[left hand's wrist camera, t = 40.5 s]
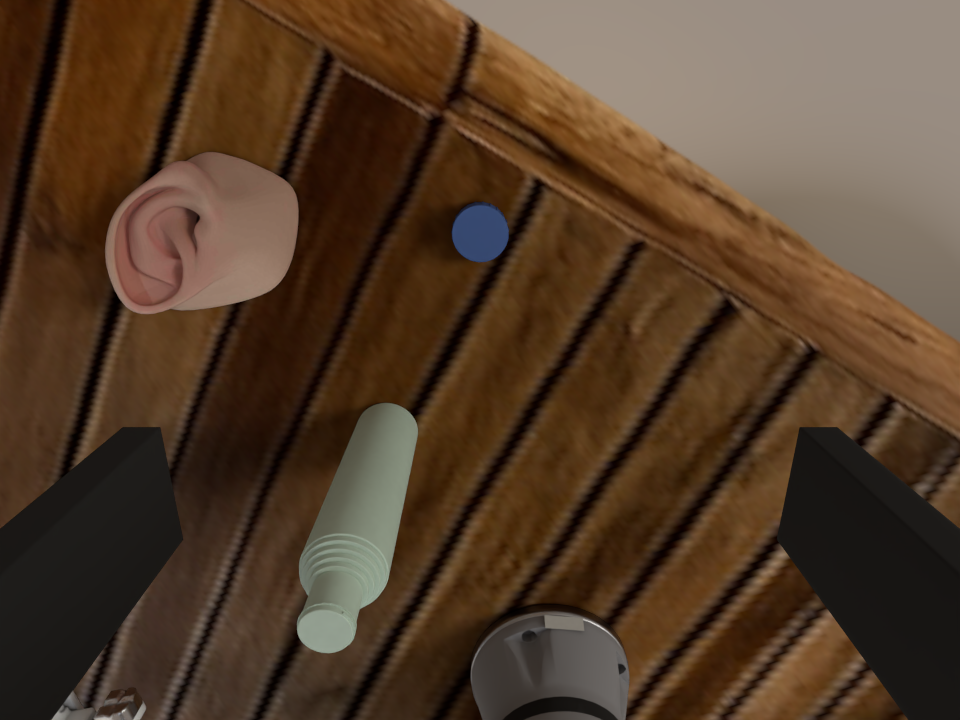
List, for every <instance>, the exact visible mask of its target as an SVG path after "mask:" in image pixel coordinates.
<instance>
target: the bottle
mask: <svg viewBox="0 0 960 720" xmlns="http://www.w3.org/2000/svg"><path fill="white" fill-rule="evenodd" d="M417 436H418V428H417V424H416V421H415V419H414V418H413V416H412V415H411V414H410V413H409V412H408V411H407V410H406V409H404V408H403V407H401V406H398V405H396V404H391V403H380V404H376V405H373V406H371V407H369V408H368V409H366V410H365V411H364V412H363V413H362V415H361V416H360V418H359V420H358V422H357V425H356V427H355V429H354V432H353V434H352V437H351V439H350V441H349V444H348V446H347V448H346V451H345V453H344V456H343V458H342V460H341V463H340V465H339V467H338V470H337V472H336V474H335V477H334V479H333V482H332V484H331V486H330V489H329V491H328V493H327V496H326V498H325V501H324V503H323V505H322V508H321V510H320V512H319V515H318V517H317V520H316V522H315V524H314V527H313V529H312V531H311V534H310V536H309V538H308V541H307V543H306V546H305V548H304V550H303V553H302V555H301V558H300V562H299V576H300V580H301V583H302V586H303V588H304V589H305V591H306V593H307V594H308V598H307V601H306V604H305V607H304V609H303V611H302V613H301V614H300V615H299V618H298V621H297V632H298V636H299V638H300V640H301V641H302V642H303V644H305V645H306V646H307V647H308V648H310V649H312V650H314V651H317V652H321V653H333V652H337V651H340V650H342V649H344V648H345V647H347V646H348V645H349V644H350V643H351V642H352V641H353V639H354V636H355V632H356V629H357V628H356V626H357V623H356V621H357V617H358V613H359V609H361V608H362V607H365V606H366V605H368V604H370V603H371V602H373V601H374V600H375V599H376V598H377V597H378V596H379V595H380V593H381V592H382V591H383V589H384V588H385V586H386V584H387V581H388V577H389V573H390V568H391V563H392V558H393V553H394V548H395V543H396V538H397V534H398V529H399V524H400V519H401V514H402V509H403V504H404V500H405V495H406V490H407V485H408V480H409V475H410V470H411V465H412V461H413V456H414V451H415V446H416V441H417Z"/></svg>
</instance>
